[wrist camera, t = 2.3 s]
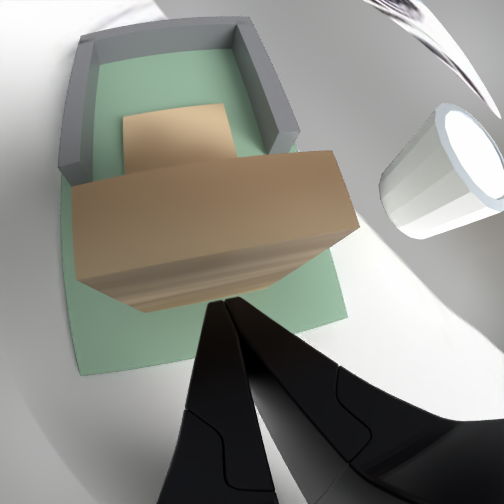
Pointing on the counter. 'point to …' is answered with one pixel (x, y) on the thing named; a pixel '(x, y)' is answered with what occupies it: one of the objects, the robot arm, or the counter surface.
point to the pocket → (161, 42)
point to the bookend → (203, 213)
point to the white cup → (444, 176)
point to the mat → (112, 165)
